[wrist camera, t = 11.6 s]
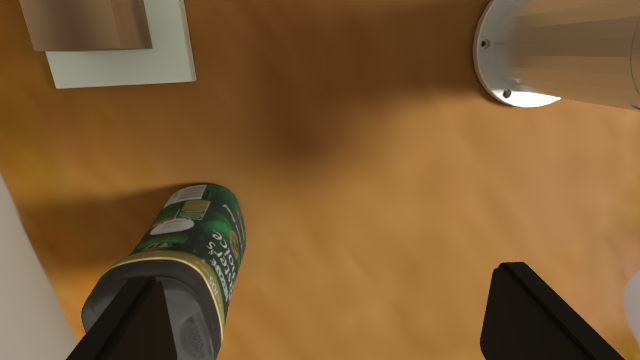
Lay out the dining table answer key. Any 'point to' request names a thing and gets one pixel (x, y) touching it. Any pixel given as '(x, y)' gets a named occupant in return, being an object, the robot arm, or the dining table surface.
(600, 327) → the dining table surface
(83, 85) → the plate
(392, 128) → the dining table surface
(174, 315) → the coffee jar
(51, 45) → the walnut cube
